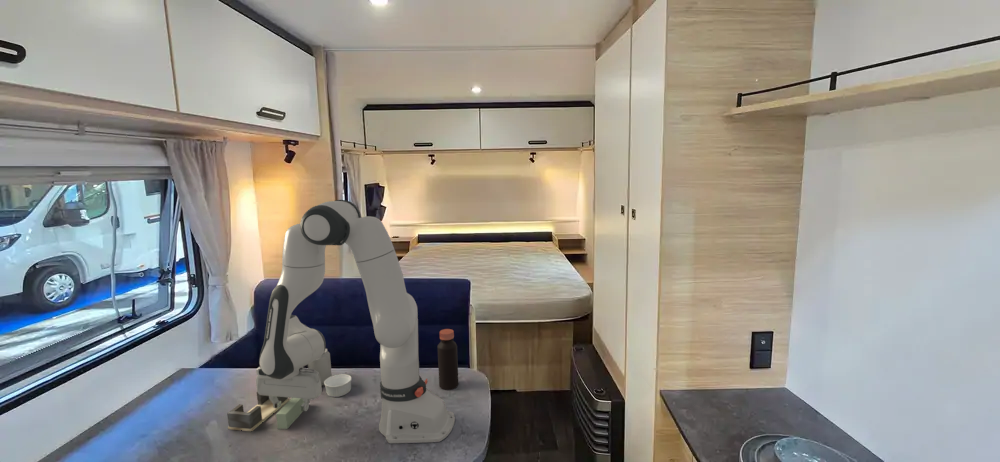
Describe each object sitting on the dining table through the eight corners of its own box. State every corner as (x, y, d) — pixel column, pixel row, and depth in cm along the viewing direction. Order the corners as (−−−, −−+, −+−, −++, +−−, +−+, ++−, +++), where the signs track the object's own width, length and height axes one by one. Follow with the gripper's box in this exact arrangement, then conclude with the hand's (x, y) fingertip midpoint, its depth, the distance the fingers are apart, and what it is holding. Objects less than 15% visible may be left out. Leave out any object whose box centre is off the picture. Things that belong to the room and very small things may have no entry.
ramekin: (349, 382, 156) (348, 371, 155) (355, 393, 148) (354, 381, 148) (323, 389, 151) (322, 378, 151) (327, 401, 144) (326, 389, 143)
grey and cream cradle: (289, 400, 144) (287, 386, 144) (251, 431, 128) (249, 415, 127) (267, 398, 146) (266, 384, 145) (228, 429, 129) (226, 413, 129)
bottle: (454, 391, 148) (451, 336, 145) (436, 389, 150) (433, 334, 147) (461, 381, 154) (459, 328, 151) (443, 379, 156) (441, 327, 153)
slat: (308, 405, 142) (307, 391, 141) (287, 429, 129) (285, 414, 128) (299, 405, 142) (298, 391, 141) (277, 429, 129) (276, 414, 128)
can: (324, 388, 152) (321, 356, 150) (305, 386, 154) (302, 354, 152) (336, 377, 159) (333, 347, 157) (318, 376, 161) (315, 345, 159)
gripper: (324, 364, 134) (327, 405, 136) (265, 360, 137) (269, 400, 139) (312, 374, 128) (315, 417, 130) (250, 369, 131) (255, 411, 133)
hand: (291, 408), depth 135 cm, fingers open, 8 cm apart
